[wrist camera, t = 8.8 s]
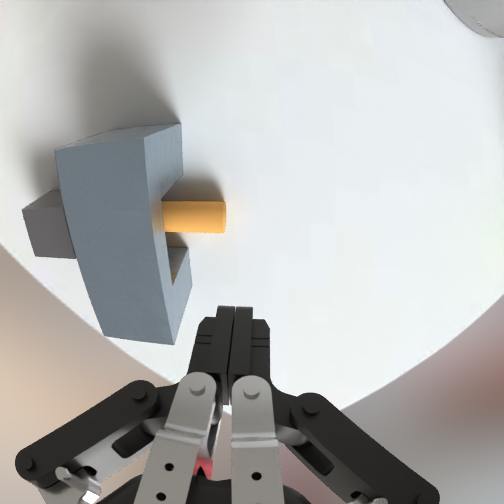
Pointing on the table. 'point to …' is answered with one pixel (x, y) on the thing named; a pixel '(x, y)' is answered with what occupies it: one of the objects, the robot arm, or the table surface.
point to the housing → (127, 229)
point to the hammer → (58, 235)
